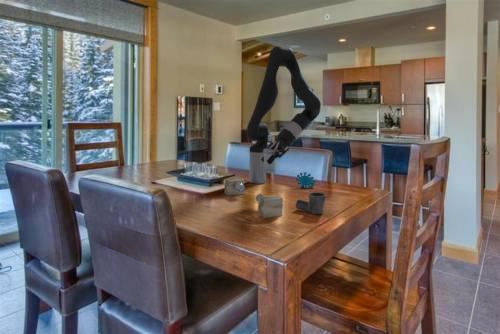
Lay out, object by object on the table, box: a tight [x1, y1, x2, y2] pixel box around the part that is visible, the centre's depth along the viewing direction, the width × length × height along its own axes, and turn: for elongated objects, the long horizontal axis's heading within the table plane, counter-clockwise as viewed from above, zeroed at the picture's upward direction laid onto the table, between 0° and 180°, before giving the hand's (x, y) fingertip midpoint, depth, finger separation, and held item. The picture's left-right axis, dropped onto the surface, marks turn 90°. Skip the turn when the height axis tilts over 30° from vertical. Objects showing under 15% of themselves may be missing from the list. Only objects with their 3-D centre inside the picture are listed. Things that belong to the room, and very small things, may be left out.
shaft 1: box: [233, 182, 246, 193], centre depth 165 cm, size 7×4×4 cm, turn 24°
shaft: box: [255, 193, 265, 203], centre depth 142 cm, size 7×4×4 cm, turn 24°
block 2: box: [257, 194, 284, 219], centre depth 137 cm, size 5×8×7 cm, turn 114°
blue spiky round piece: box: [295, 171, 318, 190], centre depth 187 cm, size 11×6×10 cm
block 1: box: [224, 177, 245, 196], centre depth 171 cm, size 5×8×7 cm, turn 114°
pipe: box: [295, 192, 327, 215], centre depth 141 cm, size 6×13×8 cm, turn 51°
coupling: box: [263, 149, 276, 174], centre depth 155 cm, size 5×5×10 cm
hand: (265, 162), depth 154 cm, fingers closed on coupling, 4 cm apart
